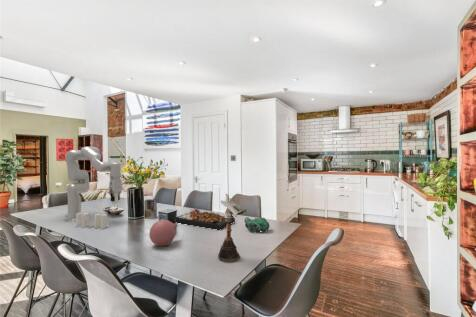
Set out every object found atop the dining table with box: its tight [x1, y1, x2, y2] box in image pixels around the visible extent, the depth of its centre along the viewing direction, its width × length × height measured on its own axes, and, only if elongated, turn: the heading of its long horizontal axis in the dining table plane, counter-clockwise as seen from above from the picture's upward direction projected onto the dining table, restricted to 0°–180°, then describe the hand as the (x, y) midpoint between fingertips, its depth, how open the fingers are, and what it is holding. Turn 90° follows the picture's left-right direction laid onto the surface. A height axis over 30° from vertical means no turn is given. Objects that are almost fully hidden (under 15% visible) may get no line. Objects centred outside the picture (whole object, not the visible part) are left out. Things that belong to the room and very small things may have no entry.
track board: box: [78, 225, 106, 230], centre depth 180 cm, size 27×9×1 cm, turn 78°
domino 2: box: [81, 212, 90, 229], centre depth 181 cm, size 2×5×10 cm, turn 168°
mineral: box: [244, 216, 270, 233], centre depth 175 cm, size 18×16×10 cm
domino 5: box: [111, 192, 119, 205], centre depth 190 cm, size 2×5×10 cm, turn 168°
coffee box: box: [143, 198, 158, 220], centre depth 211 cm, size 9×6×16 cm
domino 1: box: [75, 211, 84, 228], centre depth 182 cm, size 2×5×10 cm, turn 168°
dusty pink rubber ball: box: [148, 219, 179, 247], centre depth 148 cm, size 15×20×15 cm
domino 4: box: [100, 213, 109, 230], centre depth 178 cm, size 2×5×10 cm, turn 168°
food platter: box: [175, 208, 236, 231], centre depth 197 cm, size 45×25×10 cm, turn 63°
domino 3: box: [93, 213, 102, 230], centre depth 179 cm, size 2×5×10 cm, turn 168°
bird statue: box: [217, 193, 247, 263], centre depth 127 cm, size 17×13×35 cm
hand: (115, 200), depth 190 cm, fingers closed on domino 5, 4 cm apart
